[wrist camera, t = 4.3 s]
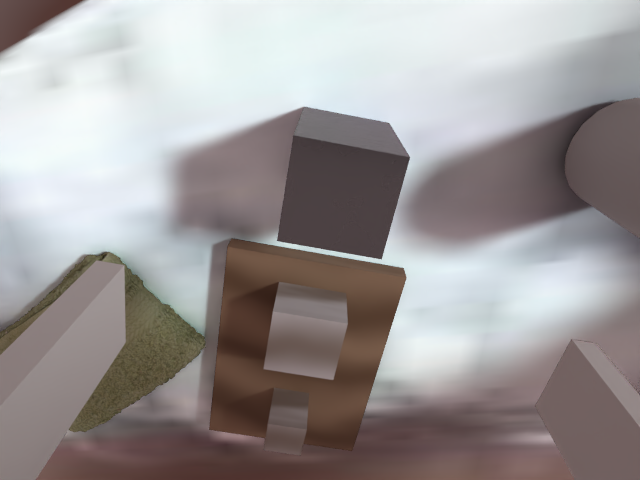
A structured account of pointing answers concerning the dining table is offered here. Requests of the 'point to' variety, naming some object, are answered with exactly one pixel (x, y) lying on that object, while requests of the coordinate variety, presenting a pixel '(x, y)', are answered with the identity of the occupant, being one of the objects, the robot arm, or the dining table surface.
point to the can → (609, 163)
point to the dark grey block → (342, 183)
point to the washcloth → (126, 346)
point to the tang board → (253, 340)
